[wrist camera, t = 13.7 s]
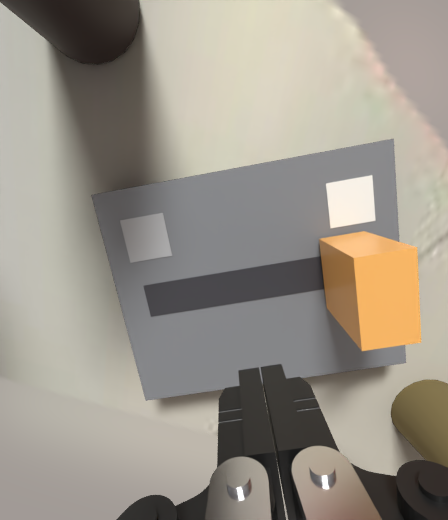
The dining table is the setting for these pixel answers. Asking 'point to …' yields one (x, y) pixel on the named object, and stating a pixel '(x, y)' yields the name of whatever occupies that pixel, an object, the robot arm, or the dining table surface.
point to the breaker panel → (243, 267)
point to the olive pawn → (424, 418)
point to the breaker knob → (372, 288)
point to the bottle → (82, 25)
